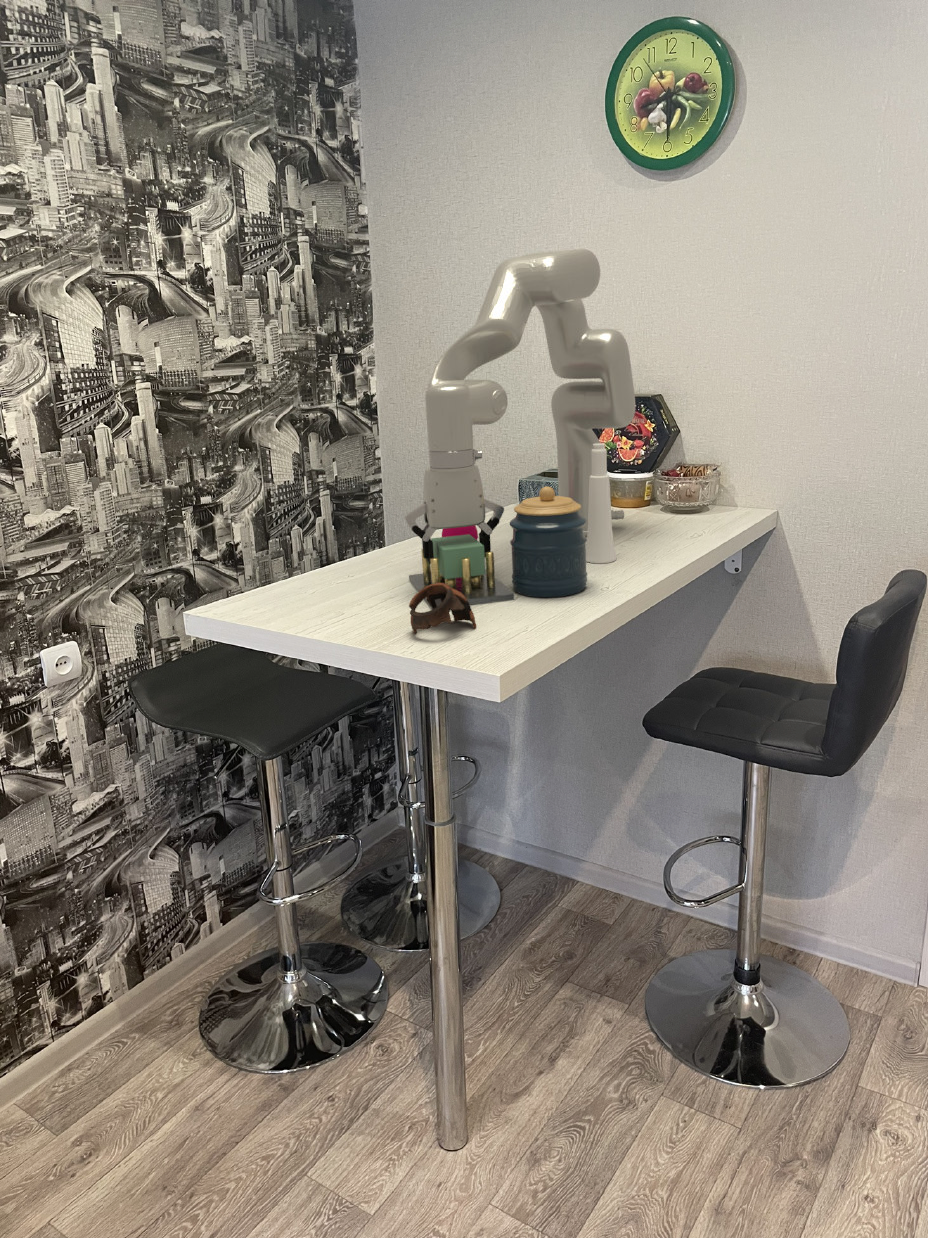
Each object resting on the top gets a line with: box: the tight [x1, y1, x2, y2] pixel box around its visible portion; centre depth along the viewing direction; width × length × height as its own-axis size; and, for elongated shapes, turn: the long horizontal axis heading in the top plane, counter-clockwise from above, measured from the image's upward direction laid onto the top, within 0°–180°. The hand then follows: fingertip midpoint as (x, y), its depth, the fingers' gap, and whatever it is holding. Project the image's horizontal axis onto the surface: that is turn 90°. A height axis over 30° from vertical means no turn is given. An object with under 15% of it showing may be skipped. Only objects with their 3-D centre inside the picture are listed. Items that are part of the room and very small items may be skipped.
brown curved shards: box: [408, 583, 477, 634], centre depth 143 cm, size 12×10×8 cm
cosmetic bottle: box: [586, 442, 617, 564], centre depth 175 cm, size 6×6×22 cm
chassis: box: [408, 548, 515, 610], centre depth 163 cm, size 14×20×7 cm
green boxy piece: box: [431, 534, 486, 579], centre depth 162 cm, size 7×10×5 cm
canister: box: [509, 486, 588, 598], centre depth 159 cm, size 13×13×18 cm
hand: (457, 559), depth 162 cm, fingers open, 9 cm apart
